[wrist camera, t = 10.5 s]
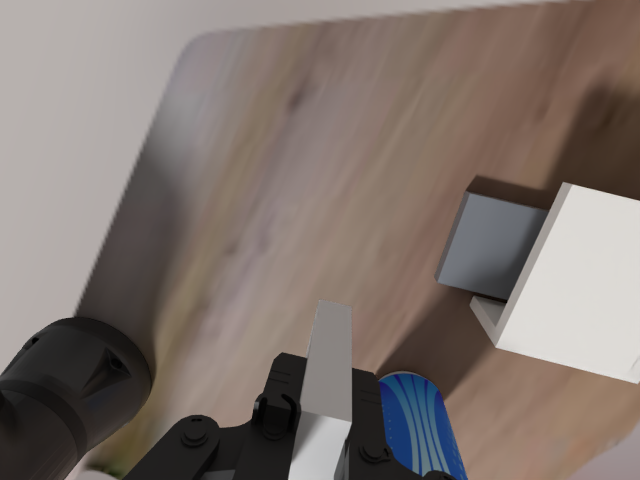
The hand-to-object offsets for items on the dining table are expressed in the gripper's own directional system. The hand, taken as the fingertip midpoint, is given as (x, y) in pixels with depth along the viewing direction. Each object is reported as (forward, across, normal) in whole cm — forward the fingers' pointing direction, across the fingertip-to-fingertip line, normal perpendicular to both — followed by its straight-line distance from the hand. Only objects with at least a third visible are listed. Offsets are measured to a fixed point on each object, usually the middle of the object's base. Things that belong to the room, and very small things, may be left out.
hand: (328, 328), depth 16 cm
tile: (+20, +18, +1) cm, 27 cm away
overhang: (+19, +21, +1) cm, 28 cm away
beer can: (+20, +12, -19) cm, 30 cm away
